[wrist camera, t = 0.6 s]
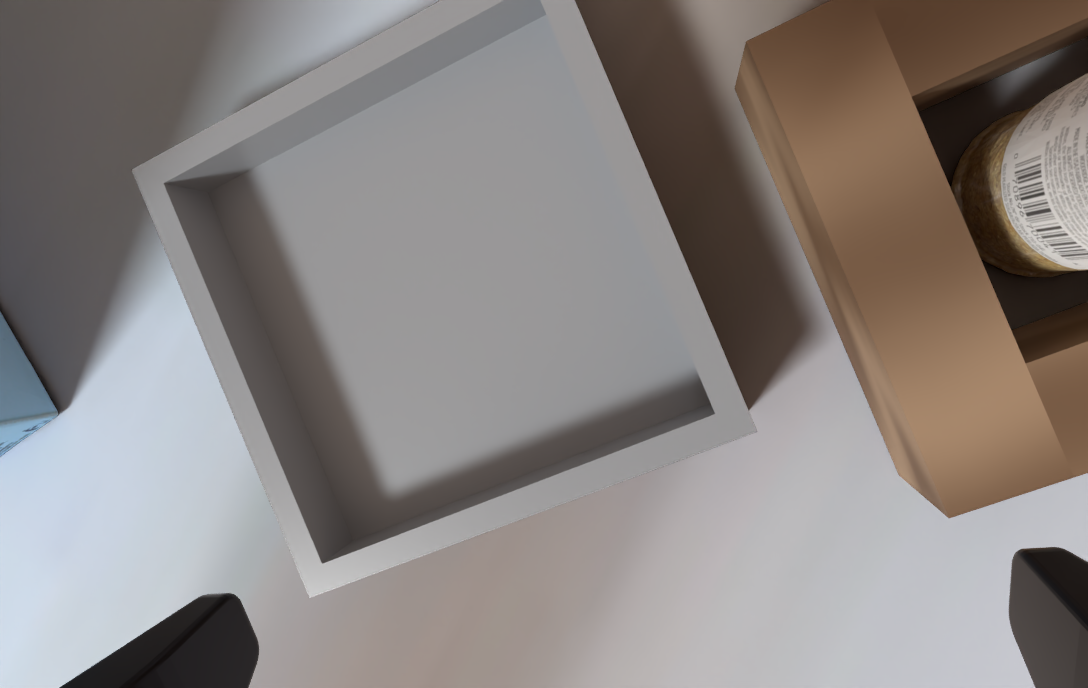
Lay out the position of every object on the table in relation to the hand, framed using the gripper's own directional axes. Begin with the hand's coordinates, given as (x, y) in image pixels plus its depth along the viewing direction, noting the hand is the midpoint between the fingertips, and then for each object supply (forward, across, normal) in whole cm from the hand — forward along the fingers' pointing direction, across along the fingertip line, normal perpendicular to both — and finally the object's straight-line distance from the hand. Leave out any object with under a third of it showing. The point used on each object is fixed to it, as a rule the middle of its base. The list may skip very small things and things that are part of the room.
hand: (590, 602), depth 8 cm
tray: (+14, +6, 0) cm, 15 cm away
